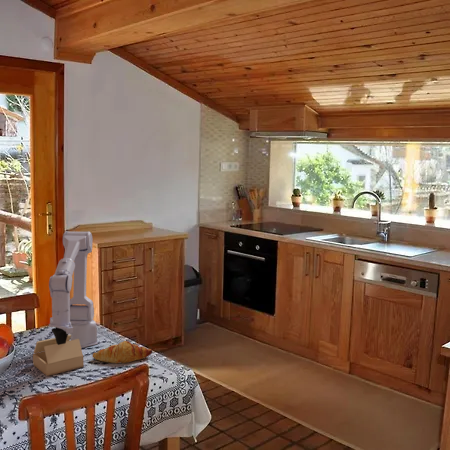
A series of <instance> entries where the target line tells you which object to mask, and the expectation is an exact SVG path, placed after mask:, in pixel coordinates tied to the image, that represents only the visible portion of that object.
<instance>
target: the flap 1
mask: <svg viewBox="0 0 450 450" xmlns="http://www.w3.org/2000/svg"><path fill="white" fill-rule="evenodd" d="M66 341H71V334H68V336H67V339H66ZM53 344H57V342H56V339H55V337H53V338H47V339H44V340H43V339H42V340H39V341H36V343H35V347H34V350H33V354H35V353H39V352H44V351H45V349H44V346H48V345H53Z"/></svg>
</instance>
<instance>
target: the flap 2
mask: <svg viewBox="0 0 450 450" xmlns="http://www.w3.org/2000/svg"><path fill="white" fill-rule="evenodd" d="M44 349H45V354H46V358H47V363H48V364H51V363H55V362H59V361H63V360H67V359H71V358H75V357H79V356H83V357H84V355H83V350H82V348H81V345H80V341H79V339H75V340H71V339H70V340H69V341H66V343H65V344H60V345H58V344H53V345H48V346H44Z"/></svg>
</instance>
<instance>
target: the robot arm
mask: <svg viewBox="0 0 450 450" xmlns="http://www.w3.org/2000/svg"><path fill="white" fill-rule="evenodd" d="M93 242H94V240H93V235H92V232H91V231H68V230H66V231H64V233H63V234H62V245H63V247H64V254H63V258H61V259H59V261H58V264H57V266H56V269H55V272H54V274H53V275H51V276H50V277H49V281H48V288H49V289H48V290H49V294H50V298H51V316H52V317H50V318H49V323H48V326H49V327H50V328H51V333H52V334H53V336H54V338H55V339H56V342H57V344H58V345H60V344H65V343H66V339H67V336H68V335H70V334H71V338H70V341H71V340H75V339H79V341H80V345H81V349H82V348H87V347H92V346H95V345H98V344H99V342H98V327H97V323H96V321H95V319H94V317H95V308H94V301H93V299H91V298H90V297H88V296H87V271H88V269H87V268H88V266H87V265H88V255H89V254H91V253H92V251H93ZM72 285H73V286H72ZM72 287H73V292H72V293H73V296H72V297H70V296H71V295H70V293H71V291H72Z"/></svg>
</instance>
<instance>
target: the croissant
mask: <svg viewBox="0 0 450 450" xmlns="http://www.w3.org/2000/svg"><path fill="white" fill-rule="evenodd" d="M152 354H153V350H152V348H146V347H145V346H139V345H138V344H135V343H131V342H130V341H128V340H123V341H121V342H119V343H117V344H112V345H109V346H107V347H106V348H101V349H100V350H98V351H96V352H93V353H92V358H93V359H94V360H97V361H100V362H103V363H111V364H126V363H127V364H128V363H131V362H134V361H140V360H143V359H146V358H147V357H149V356H150V355H152Z"/></svg>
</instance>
